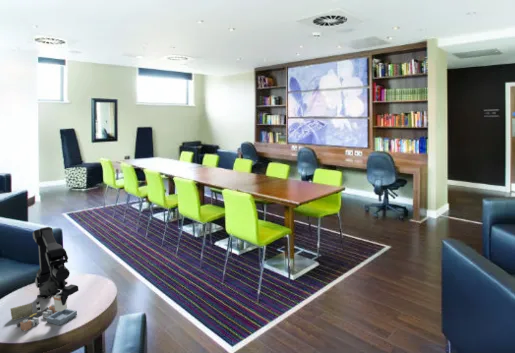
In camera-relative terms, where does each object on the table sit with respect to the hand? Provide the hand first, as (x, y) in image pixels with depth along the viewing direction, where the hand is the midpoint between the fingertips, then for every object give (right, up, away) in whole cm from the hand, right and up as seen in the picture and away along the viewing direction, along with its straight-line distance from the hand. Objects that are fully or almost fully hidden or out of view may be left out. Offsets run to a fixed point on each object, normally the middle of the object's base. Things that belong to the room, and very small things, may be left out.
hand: (60, 304), depth 175 cm
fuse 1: (-12, -9, -7) cm, 16 cm away
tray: (0, -7, +1) cm, 7 cm away
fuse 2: (-7, -6, +7) cm, 12 cm away
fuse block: (-11, -7, +1) cm, 14 cm away
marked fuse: (0, -3, 0) cm, 3 cm away
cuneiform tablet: (-19, -8, +4) cm, 21 cm away
